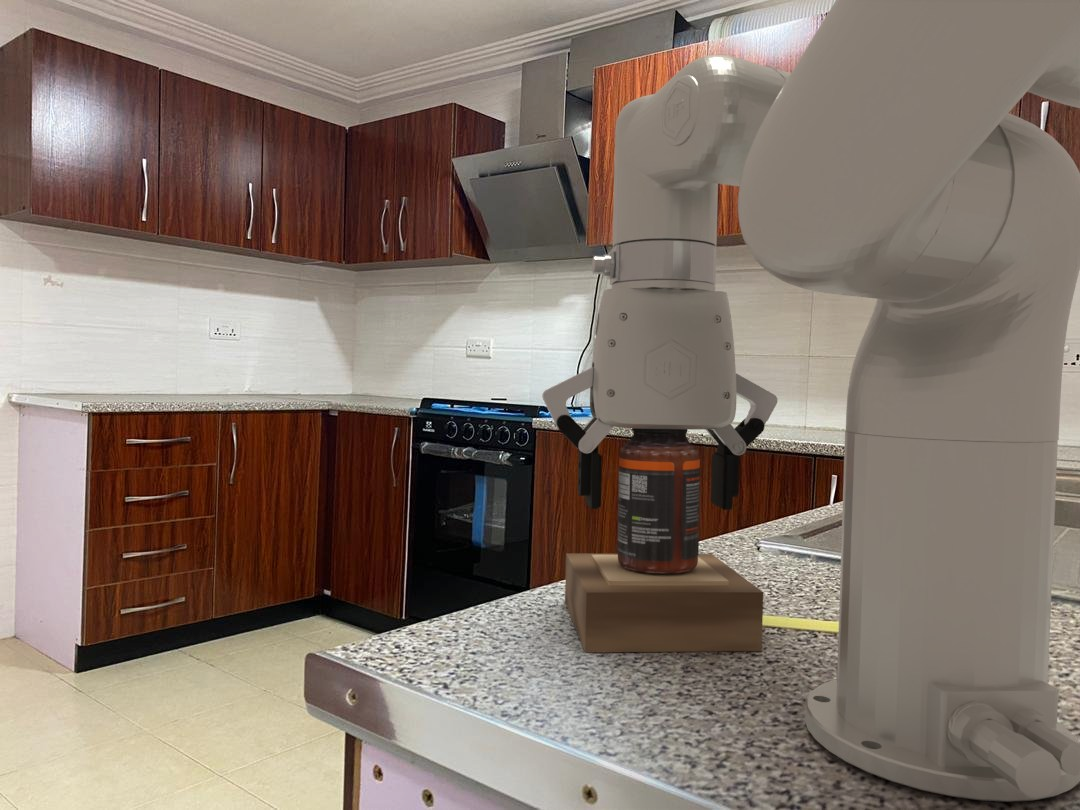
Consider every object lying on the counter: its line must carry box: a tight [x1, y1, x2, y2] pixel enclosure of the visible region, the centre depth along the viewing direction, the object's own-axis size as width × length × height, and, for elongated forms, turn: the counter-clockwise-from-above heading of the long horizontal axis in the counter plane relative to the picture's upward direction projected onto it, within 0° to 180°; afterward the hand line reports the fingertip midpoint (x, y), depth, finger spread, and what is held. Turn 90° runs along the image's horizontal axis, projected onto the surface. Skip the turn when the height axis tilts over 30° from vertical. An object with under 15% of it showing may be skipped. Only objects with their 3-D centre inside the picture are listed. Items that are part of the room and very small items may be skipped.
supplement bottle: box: [617, 428, 701, 575], centre depth 60 cm, size 6×6×11 cm
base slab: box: [564, 552, 764, 653], centre depth 61 cm, size 12×12×4 cm
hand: (657, 506), depth 60 cm, fingers open, 9 cm apart
